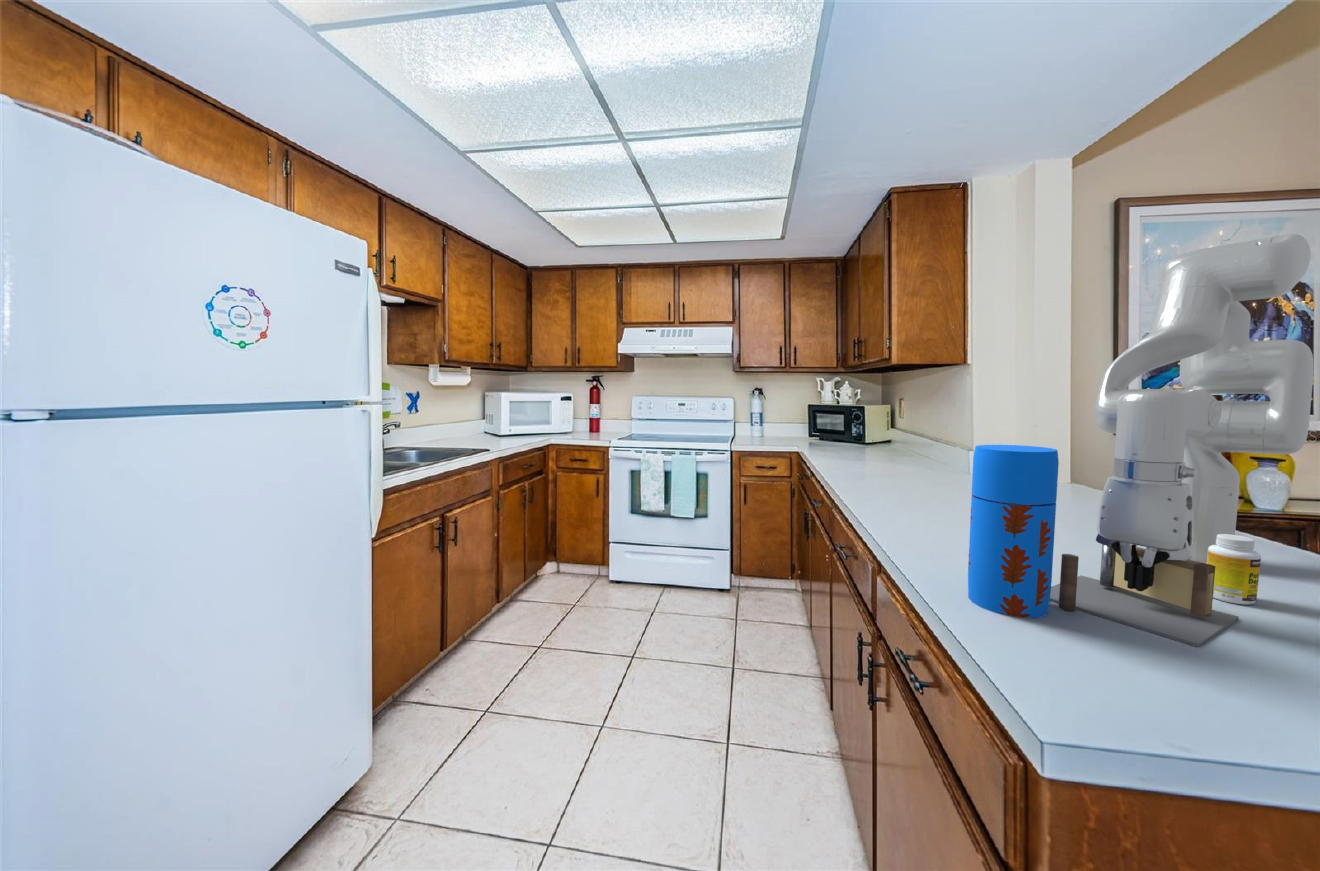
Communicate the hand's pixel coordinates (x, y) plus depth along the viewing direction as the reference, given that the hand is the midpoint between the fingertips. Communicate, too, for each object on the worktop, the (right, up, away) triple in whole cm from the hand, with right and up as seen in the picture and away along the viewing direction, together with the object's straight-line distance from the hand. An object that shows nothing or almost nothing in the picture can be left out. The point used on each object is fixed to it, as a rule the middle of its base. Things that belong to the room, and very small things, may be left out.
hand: (1137, 587), depth 77 cm
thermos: (-19, -3, +2) cm, 19 cm away
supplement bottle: (+18, -3, +3) cm, 18 cm away
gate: (+3, -2, +1) cm, 4 cm away
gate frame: (-1, -3, 0) cm, 3 cm away
